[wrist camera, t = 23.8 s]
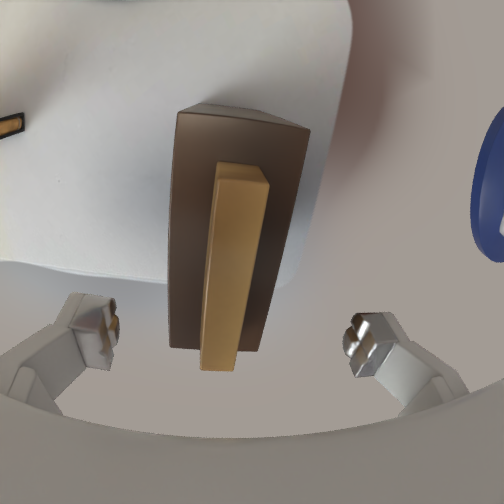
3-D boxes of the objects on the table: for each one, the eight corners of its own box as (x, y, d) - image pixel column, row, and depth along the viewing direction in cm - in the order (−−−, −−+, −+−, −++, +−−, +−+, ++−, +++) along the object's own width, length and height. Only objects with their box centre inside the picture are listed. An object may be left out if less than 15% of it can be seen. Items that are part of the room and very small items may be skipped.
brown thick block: (261, 110, 21) (311, 129, 10) (239, 242, 27) (257, 352, 16) (198, 103, 20) (177, 111, 9) (184, 238, 26) (169, 348, 15)
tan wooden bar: (259, 165, 11) (270, 184, 9) (230, 336, 15) (233, 372, 13) (217, 160, 10) (217, 178, 8) (200, 334, 15) (199, 371, 13)
